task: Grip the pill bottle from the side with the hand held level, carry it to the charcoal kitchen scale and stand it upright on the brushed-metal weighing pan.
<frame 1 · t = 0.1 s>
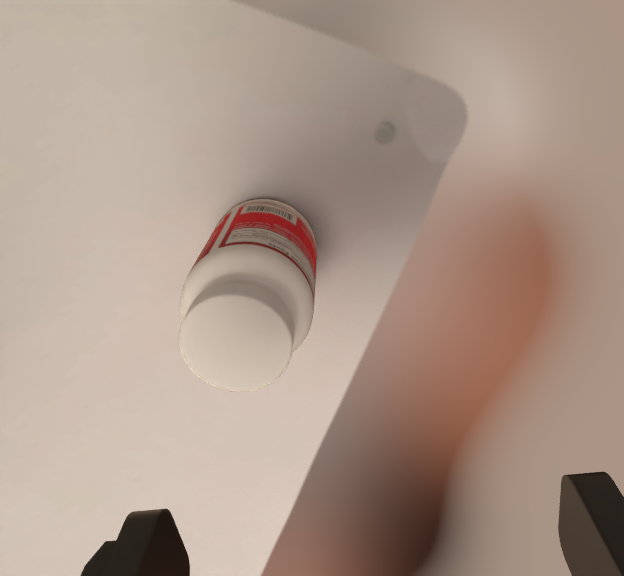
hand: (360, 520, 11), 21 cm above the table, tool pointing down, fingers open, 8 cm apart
pill bottle: (266, 244, 31), on the table
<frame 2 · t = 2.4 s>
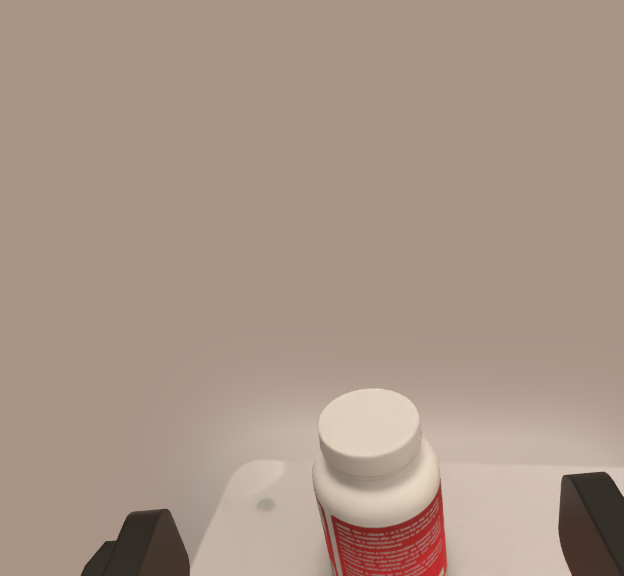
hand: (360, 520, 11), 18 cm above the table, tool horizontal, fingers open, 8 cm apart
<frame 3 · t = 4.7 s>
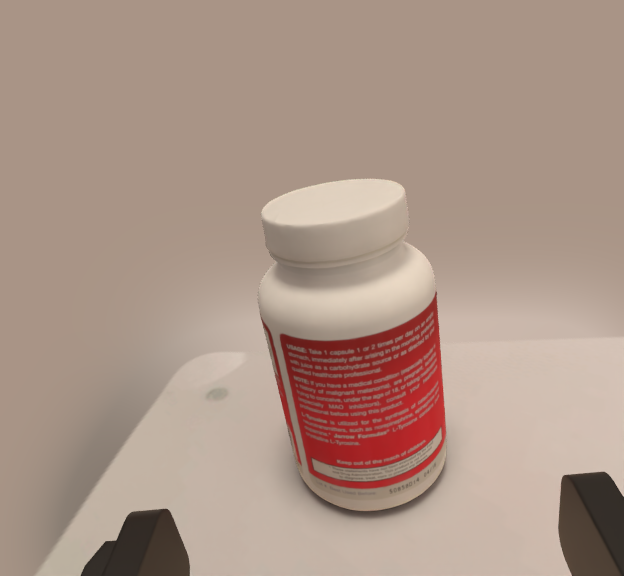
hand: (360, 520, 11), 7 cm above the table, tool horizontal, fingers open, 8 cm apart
pill bottle: (371, 458, 21), on the table
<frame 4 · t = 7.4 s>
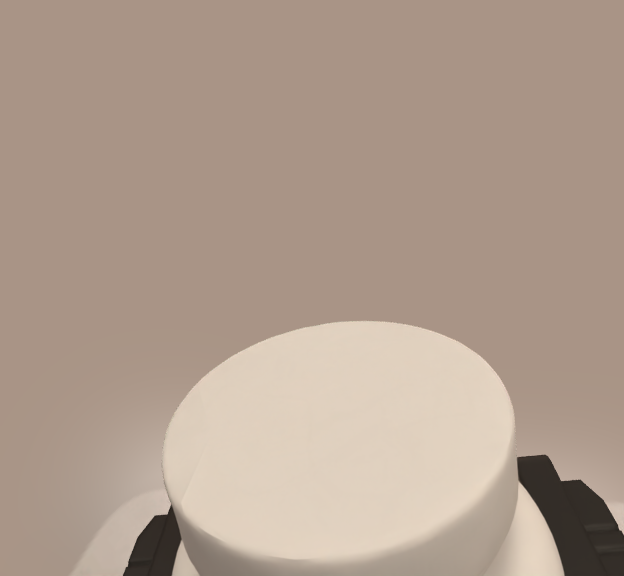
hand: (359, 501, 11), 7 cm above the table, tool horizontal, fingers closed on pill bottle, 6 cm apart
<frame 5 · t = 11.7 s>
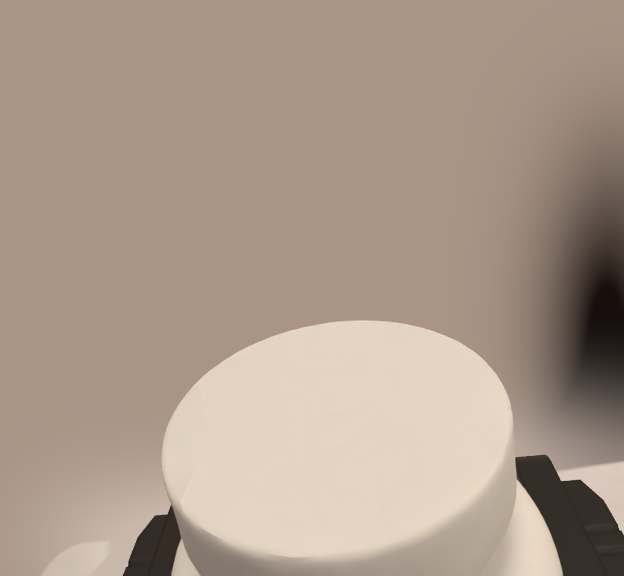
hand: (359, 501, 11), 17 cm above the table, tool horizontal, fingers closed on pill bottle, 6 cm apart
when the fingers open (10 cm above the table, at t = 16.3 s): pill bottle stays where it is, resting on scale.
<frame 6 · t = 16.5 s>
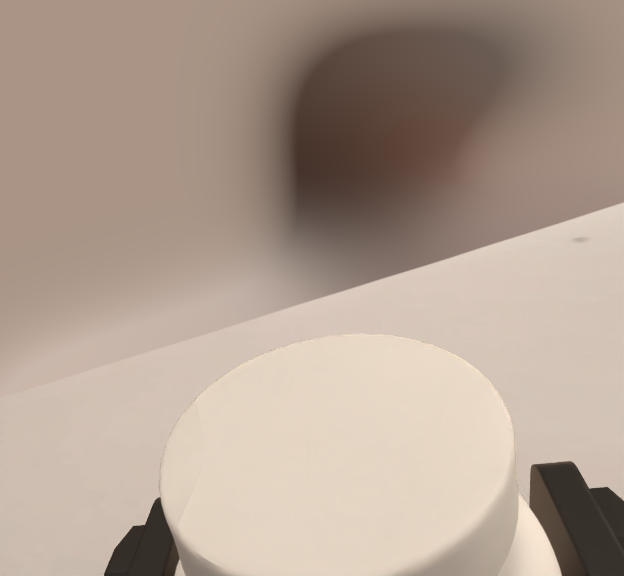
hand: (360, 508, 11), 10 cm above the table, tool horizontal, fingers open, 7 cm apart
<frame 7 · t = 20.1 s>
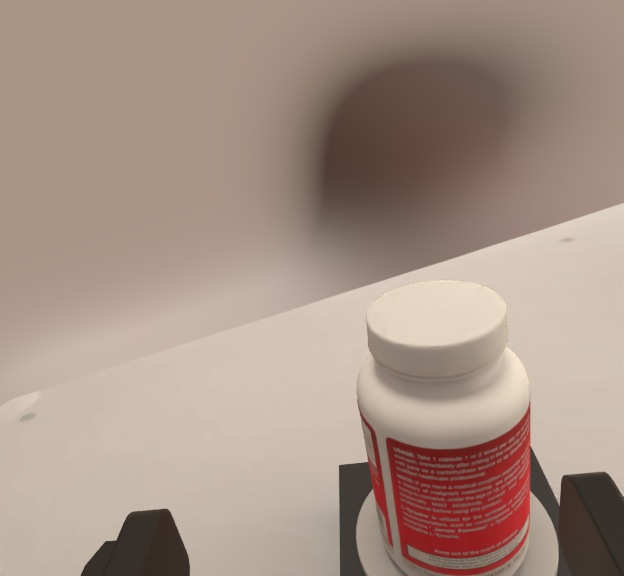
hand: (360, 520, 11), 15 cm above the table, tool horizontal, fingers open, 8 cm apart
pill bottle: (452, 534, 22), point 3 cm above the table, touching scale
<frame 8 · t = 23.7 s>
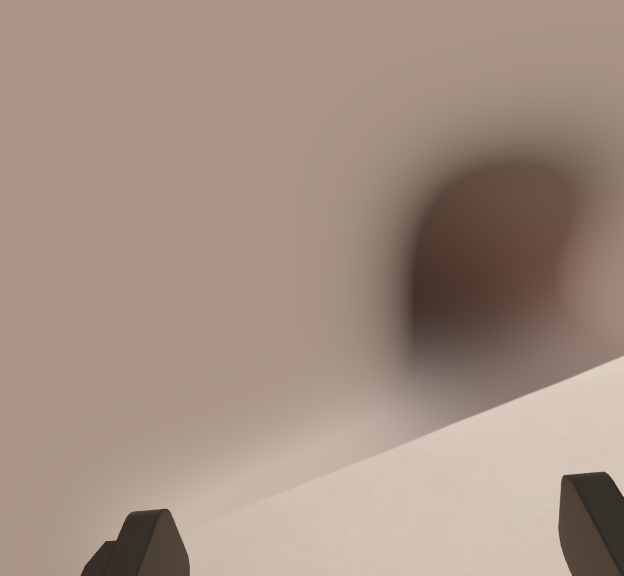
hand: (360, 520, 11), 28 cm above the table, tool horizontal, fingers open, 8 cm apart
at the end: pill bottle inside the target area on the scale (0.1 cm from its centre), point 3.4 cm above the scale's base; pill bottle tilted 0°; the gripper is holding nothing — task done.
